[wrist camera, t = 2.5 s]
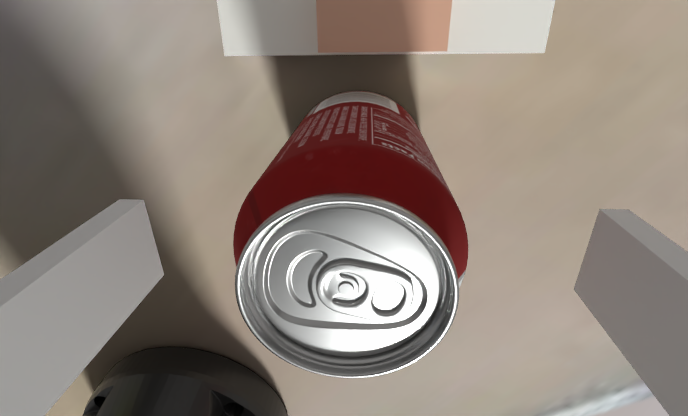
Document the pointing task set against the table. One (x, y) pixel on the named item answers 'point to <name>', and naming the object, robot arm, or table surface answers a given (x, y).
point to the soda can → (351, 243)
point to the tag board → (462, 34)
